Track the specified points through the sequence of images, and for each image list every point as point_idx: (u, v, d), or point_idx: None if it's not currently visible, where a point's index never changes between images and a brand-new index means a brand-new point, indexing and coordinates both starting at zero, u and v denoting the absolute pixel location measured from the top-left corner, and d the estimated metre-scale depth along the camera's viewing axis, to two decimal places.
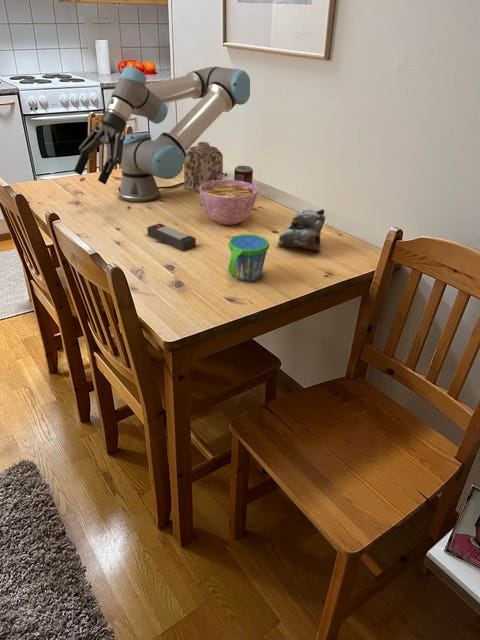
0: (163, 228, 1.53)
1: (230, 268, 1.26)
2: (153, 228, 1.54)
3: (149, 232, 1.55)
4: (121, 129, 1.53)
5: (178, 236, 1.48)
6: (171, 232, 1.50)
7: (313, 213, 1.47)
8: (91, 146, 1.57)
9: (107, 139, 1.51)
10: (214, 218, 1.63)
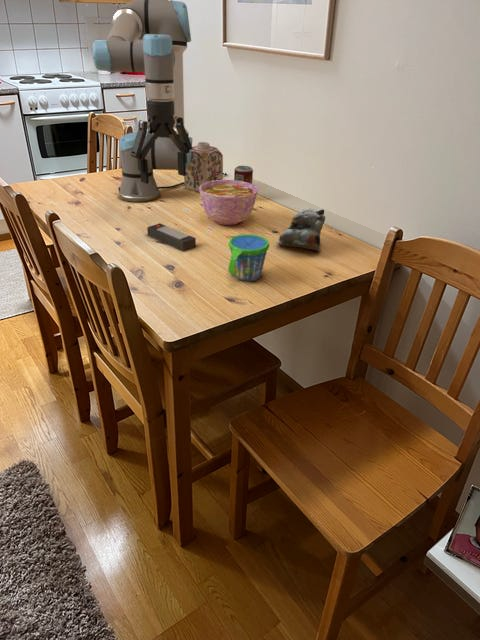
0: (163, 228, 1.53)
1: (230, 268, 1.26)
2: (153, 228, 1.54)
3: (149, 232, 1.55)
4: None
5: (178, 236, 1.48)
6: (171, 232, 1.50)
7: (313, 213, 1.47)
8: None
9: (174, 132, 1.37)
10: (214, 218, 1.63)
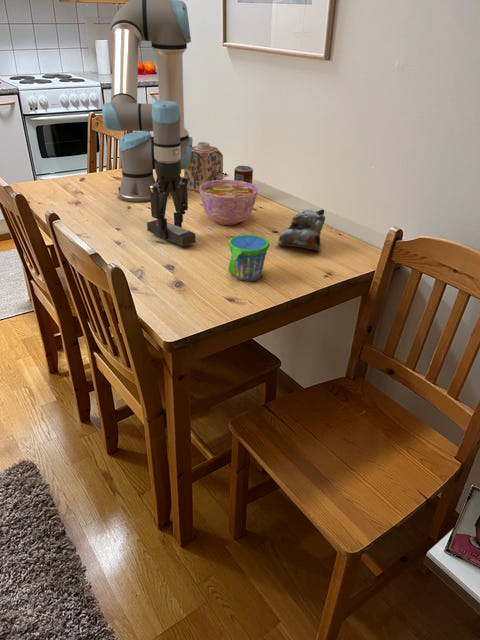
0: None
1: (230, 268, 1.26)
2: (153, 223, 1.53)
3: (149, 227, 1.54)
4: None
5: (178, 232, 1.47)
6: (171, 228, 1.50)
7: (313, 213, 1.47)
8: None
9: (178, 190, 1.45)
10: (214, 218, 1.63)
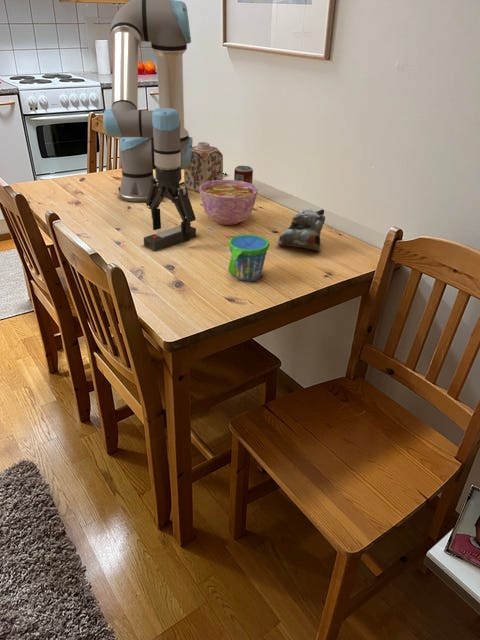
0: (162, 234, 1.49)
1: (230, 268, 1.26)
2: (158, 239, 1.46)
3: (157, 246, 1.46)
4: None
5: None
6: (173, 231, 1.51)
7: (313, 213, 1.47)
8: None
9: None
10: (214, 218, 1.63)
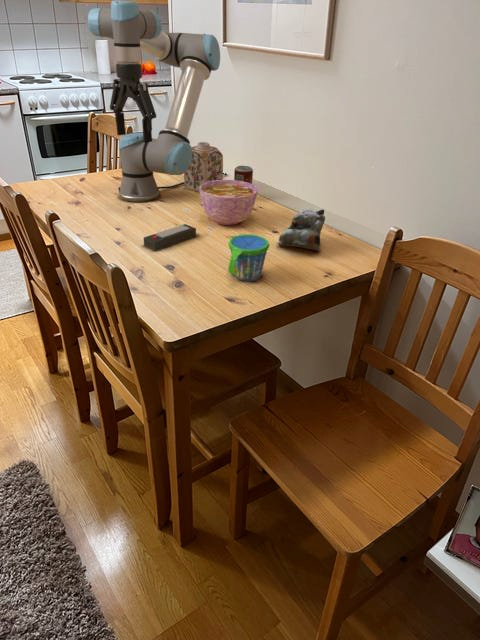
0: (162, 234, 1.49)
1: (230, 268, 1.26)
2: (158, 239, 1.46)
3: (157, 246, 1.46)
4: None
5: (184, 228, 1.53)
6: (173, 231, 1.51)
7: (313, 213, 1.47)
8: None
9: None
10: (214, 218, 1.63)
